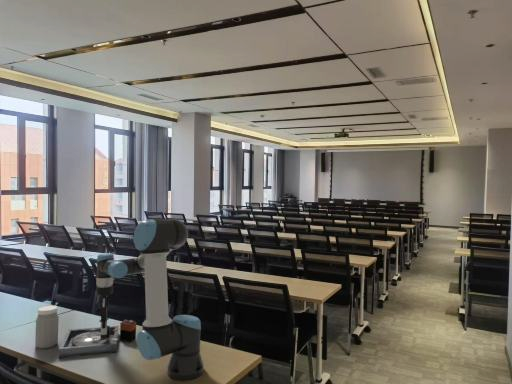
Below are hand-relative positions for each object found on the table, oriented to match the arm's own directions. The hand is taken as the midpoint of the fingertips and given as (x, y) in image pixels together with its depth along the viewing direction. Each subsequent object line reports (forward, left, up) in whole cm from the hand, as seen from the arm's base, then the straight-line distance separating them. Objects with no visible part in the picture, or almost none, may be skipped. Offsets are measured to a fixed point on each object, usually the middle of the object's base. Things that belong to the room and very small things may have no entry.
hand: (103, 334), depth 183 cm
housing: (+2, +6, -6) cm, 8 cm away
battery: (+4, -11, -6) cm, 13 cm away
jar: (+6, +26, -6) cm, 27 cm away
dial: (+2, +6, -4) cm, 8 cm away
